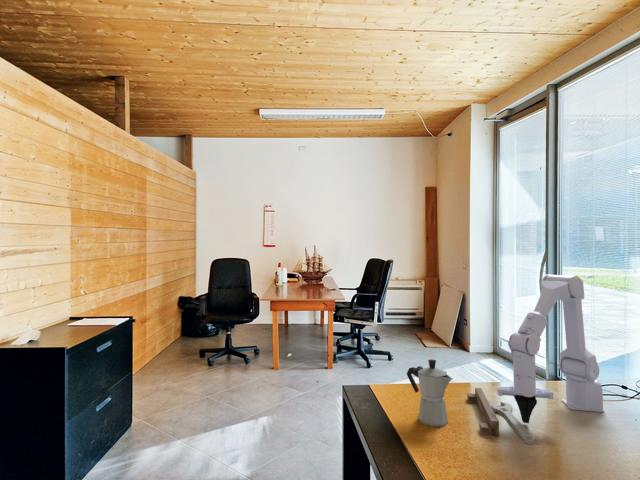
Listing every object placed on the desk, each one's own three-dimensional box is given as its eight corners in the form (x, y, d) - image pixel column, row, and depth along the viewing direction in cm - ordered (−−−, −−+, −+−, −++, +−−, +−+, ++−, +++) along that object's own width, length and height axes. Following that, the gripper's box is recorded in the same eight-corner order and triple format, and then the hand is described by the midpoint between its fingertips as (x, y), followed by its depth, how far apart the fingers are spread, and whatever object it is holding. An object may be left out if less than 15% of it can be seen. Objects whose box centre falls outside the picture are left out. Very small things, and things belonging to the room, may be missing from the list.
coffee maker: (459, 422, 115) (458, 361, 116) (446, 432, 109) (445, 367, 109) (414, 408, 125) (414, 352, 126) (400, 416, 119) (399, 357, 119)
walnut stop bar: (481, 400, 132) (481, 388, 132) (499, 436, 106) (498, 421, 106) (467, 399, 133) (467, 387, 133) (481, 434, 107) (481, 419, 107)
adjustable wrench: (536, 446, 102) (536, 439, 102) (510, 444, 103) (510, 437, 103) (509, 407, 126) (509, 401, 126) (488, 406, 128) (488, 400, 128)
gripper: (500, 377, 111) (501, 425, 111) (557, 380, 108) (558, 430, 108) (495, 369, 118) (496, 415, 118) (548, 372, 115) (549, 419, 115)
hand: (525, 421), depth 113 cm, fingers closed
